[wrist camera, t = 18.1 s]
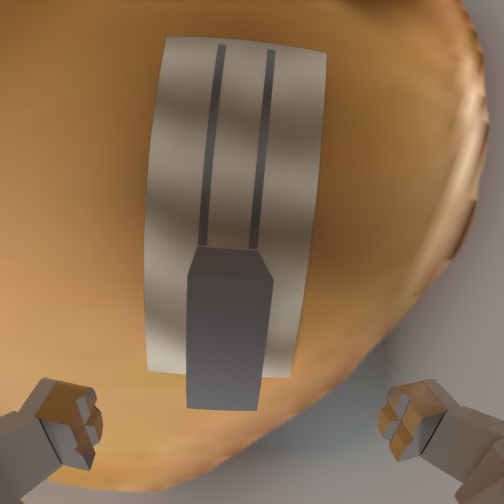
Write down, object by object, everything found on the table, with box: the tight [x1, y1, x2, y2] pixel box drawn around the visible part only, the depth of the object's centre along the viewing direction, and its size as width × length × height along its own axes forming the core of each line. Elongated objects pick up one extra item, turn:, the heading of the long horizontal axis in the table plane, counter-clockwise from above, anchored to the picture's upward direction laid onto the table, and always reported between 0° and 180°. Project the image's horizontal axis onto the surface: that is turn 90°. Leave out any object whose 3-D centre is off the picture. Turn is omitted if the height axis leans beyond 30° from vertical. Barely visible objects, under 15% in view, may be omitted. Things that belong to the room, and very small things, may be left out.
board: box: [144, 36, 327, 377], centre depth 19 cm, size 22×10×2 cm, turn 175°
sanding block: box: [186, 245, 274, 411], centre depth 16 cm, size 7×4×6 cm, turn 175°
